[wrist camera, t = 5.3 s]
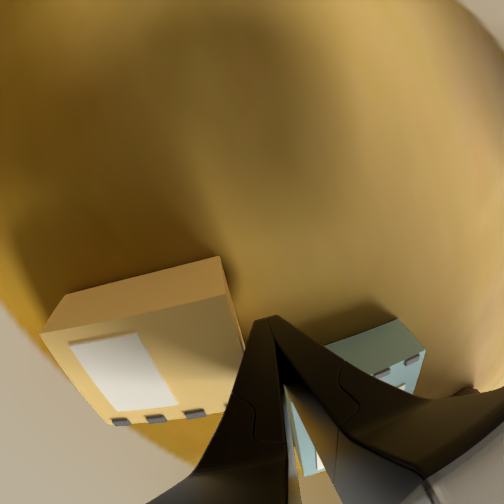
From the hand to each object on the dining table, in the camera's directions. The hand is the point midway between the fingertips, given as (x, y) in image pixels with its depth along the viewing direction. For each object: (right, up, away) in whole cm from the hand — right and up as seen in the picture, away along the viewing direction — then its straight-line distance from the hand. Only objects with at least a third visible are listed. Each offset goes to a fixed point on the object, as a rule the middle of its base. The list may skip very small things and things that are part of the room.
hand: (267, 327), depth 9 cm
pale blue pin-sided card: (+4, -5, +4) cm, 8 cm away
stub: (-4, 0, +1) cm, 4 cm away
